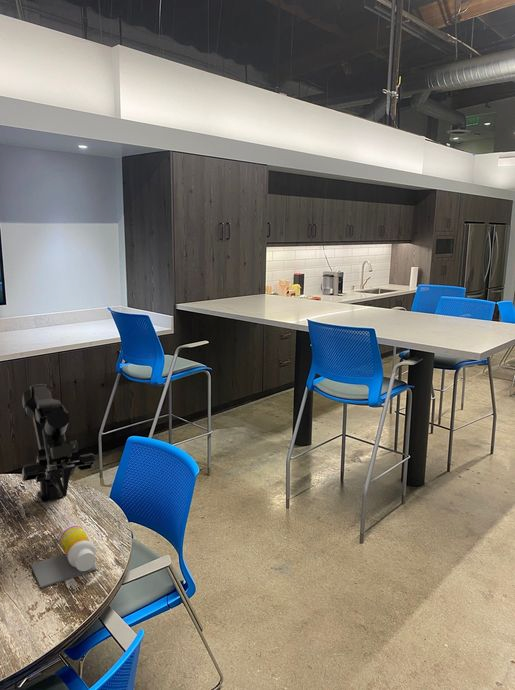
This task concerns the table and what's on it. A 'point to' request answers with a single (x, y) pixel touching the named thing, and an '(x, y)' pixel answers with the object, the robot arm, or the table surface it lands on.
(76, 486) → the table surface
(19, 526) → the table surface
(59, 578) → the mat
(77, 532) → the supplement bottle
